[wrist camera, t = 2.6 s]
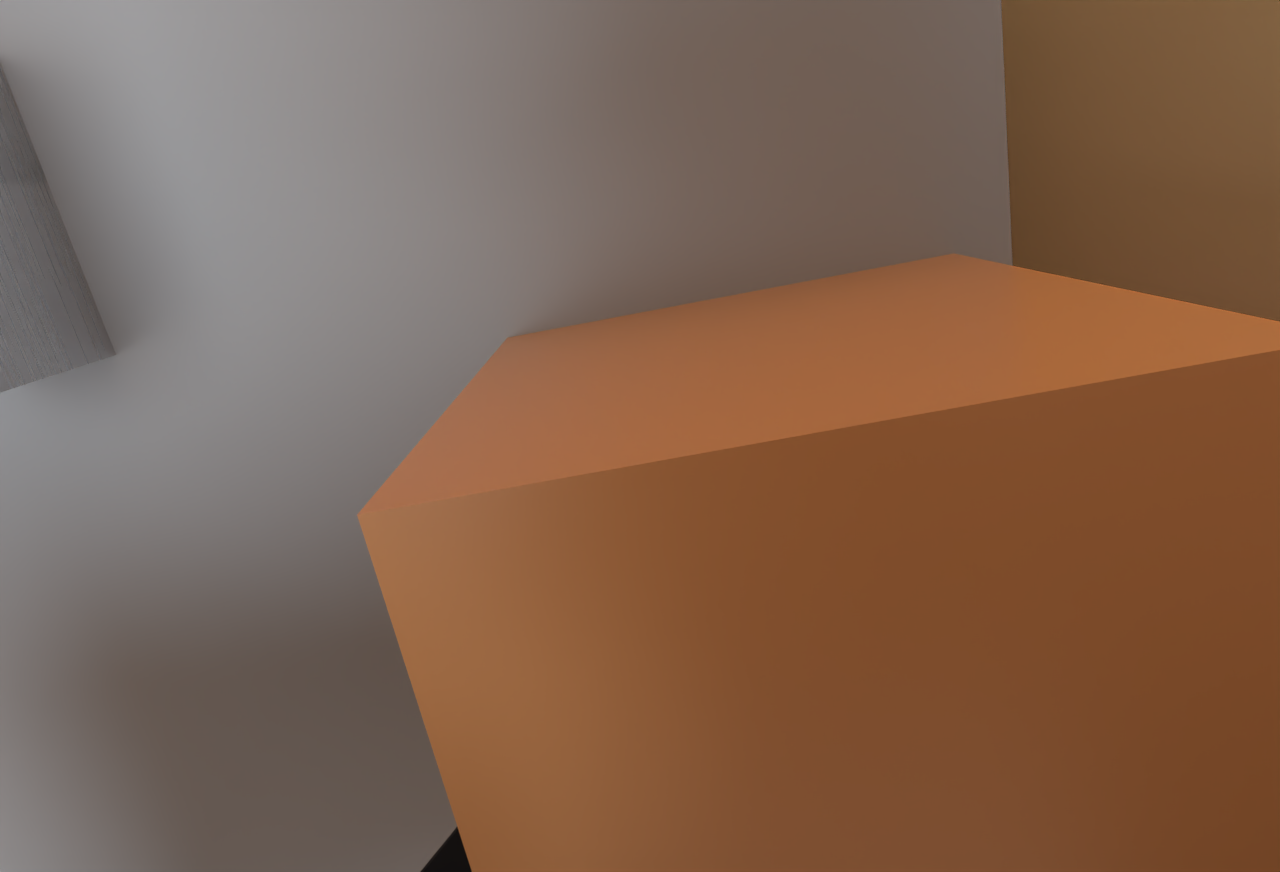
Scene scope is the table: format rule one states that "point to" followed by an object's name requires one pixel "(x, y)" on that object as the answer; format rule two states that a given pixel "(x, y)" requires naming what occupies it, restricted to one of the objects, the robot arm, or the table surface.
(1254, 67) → the table surface
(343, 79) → the board
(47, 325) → the bracket
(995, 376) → the plug
